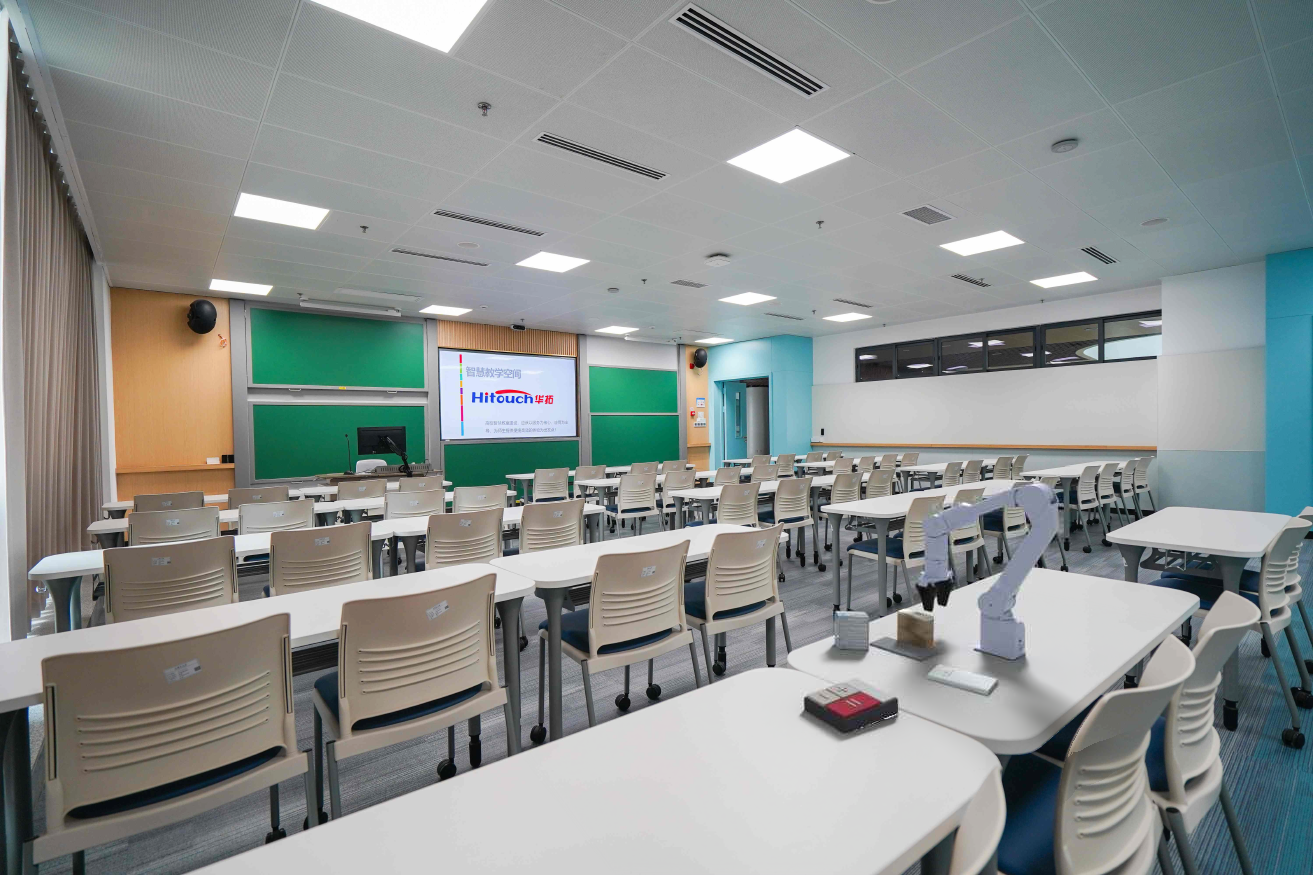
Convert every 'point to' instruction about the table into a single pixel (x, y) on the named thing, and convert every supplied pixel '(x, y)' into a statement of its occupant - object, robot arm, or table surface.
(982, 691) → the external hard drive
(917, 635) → the block
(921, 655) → the mat
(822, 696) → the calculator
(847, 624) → the medicine box
